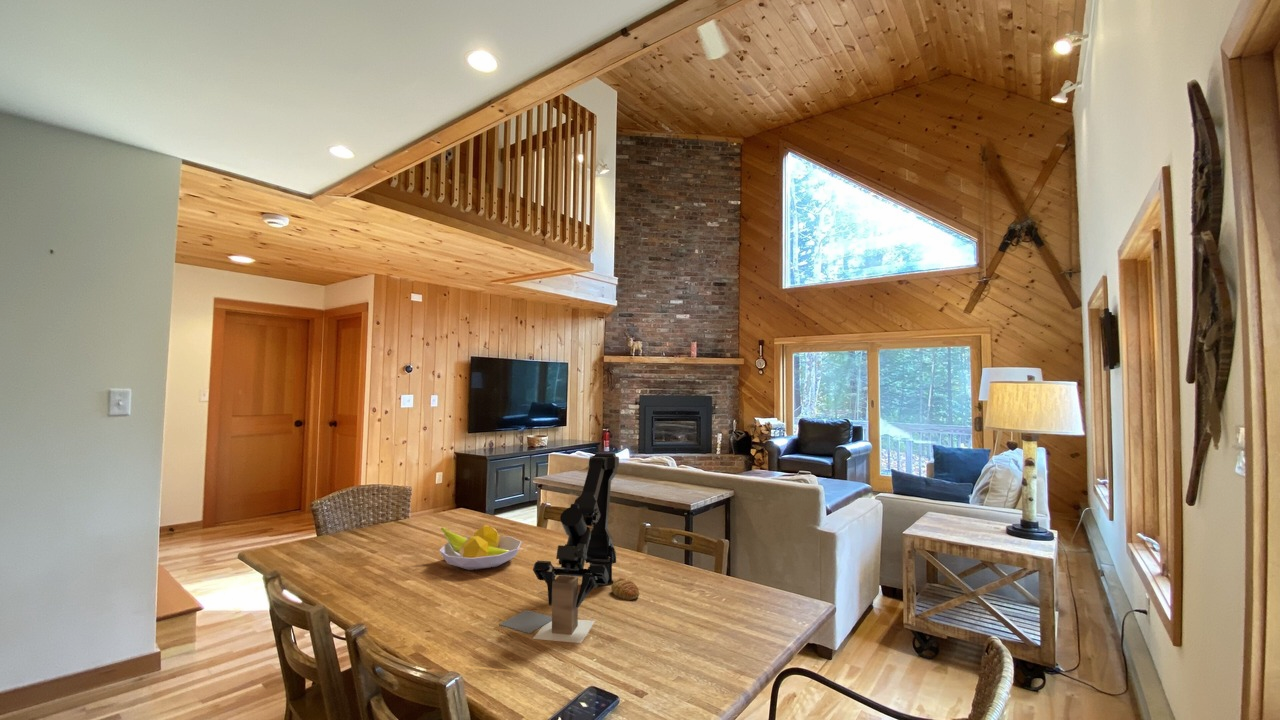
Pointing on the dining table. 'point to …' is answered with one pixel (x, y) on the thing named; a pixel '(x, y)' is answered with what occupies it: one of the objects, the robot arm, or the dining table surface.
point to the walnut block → (564, 605)
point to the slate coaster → (527, 621)
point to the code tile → (576, 637)
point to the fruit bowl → (479, 549)
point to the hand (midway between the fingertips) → (563, 605)
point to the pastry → (625, 589)
